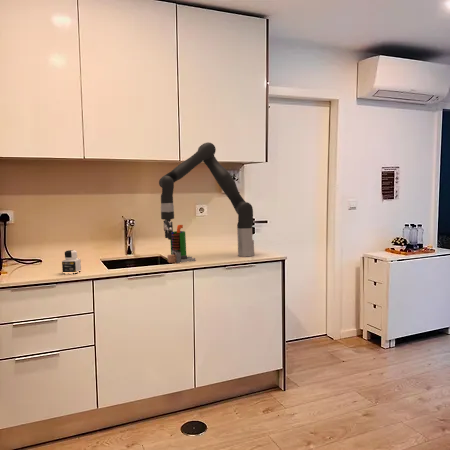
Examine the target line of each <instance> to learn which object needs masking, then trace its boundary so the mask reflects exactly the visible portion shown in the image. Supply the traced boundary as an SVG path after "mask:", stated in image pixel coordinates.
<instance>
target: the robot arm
mask: <svg viewBox="0 0 450 450" xmlns="http://www.w3.org/2000/svg"><path fill="white" fill-rule="evenodd" d="M216 151H217V150H216V146H215V145H214V144H213V143H212V142H204V143H202V144H200V146H199V147H198V148H197V150H196V152H195V153H194V154H193V155H191V156H190V157H188V158H186V159H185V160H183V161H182V162H181V163H180V164H178V165H177V166H175V167H174V168H173V169H172V170H170V172H167V173H165V174H164V175H163V176H161V178H160V179H159V181H158V185H159V186H160V188H161V194H160V218H161V220H162V221H163V222H162V223H163V231H164V239H168V240H171V239H172V232H174V229H173V228H174V227H173V221H172V220H173V219H175V206H174V190H175V189H174V187H175V183H176V182H177V181H179V180H182V179H183V178H184V177H185V176H187V175H188V173H190V172H191V171H192V170H193V169H195V168H196V167H198V165H200V164H201V163H204V164H205V165H206V167H207V168H208V169H209V171H210V173H211V175H212V176H213V177H214V179H215V181H216V183H217V184H218V186H219V187H220V188H221V190H222V191H223V192H222V193H224V195H225V196H226V197H227V198H228V200H229V201H230V202H231V205H232V207H233V209H234V210H235V211H234V212H236V214H237V216H238V218H237V221H238V222H237V223H236V224H237V226H236V229H237V257H252V256H255V241H254V238H253V224H254V209H253V208H254V207H253V206H252V204H251V203H250V202H247V201H245V199H244V198H243V197H242V195H241V194H240V192H239V190H238V187H237V184H236V182H235V180H234V179H233V176H232V175H231V174H230V172H229V170H227V169H226V168H225V167H224V166H222V164H221V163H220V162H219V161H218V159H217V158H216V157H215V154H216Z"/></svg>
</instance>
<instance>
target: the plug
mask: <svg viewBox="0 0 450 450" xmlns="http://www.w3.org/2000/svg"><path fill="white" fill-rule="evenodd" d="M187 257H188V255H187V254H186V255H183V256H181V259H187ZM167 263H169V264H171V263H176V257H175V254H173V255H171V254H168V255H167Z"/></svg>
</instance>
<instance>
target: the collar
mask: <svg viewBox="0 0 450 450" xmlns="http://www.w3.org/2000/svg"><path fill="white" fill-rule="evenodd" d="M173 254H175V257H176V262H175V263H176V264H181V263H188V262H187V261H189V262H196V258H195V257H193V256H187V259H181V252H179V251H177V250H172V255H173ZM180 262H181V263H180Z"/></svg>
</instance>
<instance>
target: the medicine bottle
mask: <svg viewBox="0 0 450 450" xmlns="http://www.w3.org/2000/svg"><path fill="white" fill-rule="evenodd" d="M81 261H82V260H81V258H78V251H77V250H74V249H72V250H71V249H70V250H69V249H68V250H66V251H64V260H62V261H61V266H62V267H61V268H62V269H61V270H62V273H63V272H77V271H79V270H81V271H82V264H81Z"/></svg>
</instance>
